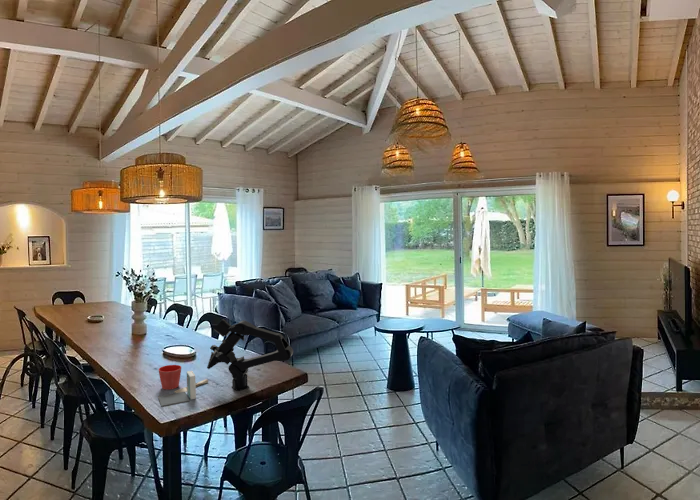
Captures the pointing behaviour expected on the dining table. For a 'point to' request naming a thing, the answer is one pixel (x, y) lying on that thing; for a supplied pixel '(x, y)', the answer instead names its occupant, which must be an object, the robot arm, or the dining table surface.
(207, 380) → the spatula
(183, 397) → the mat
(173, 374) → the flower pot
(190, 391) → the tile
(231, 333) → the robot arm
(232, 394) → the dining table surface
